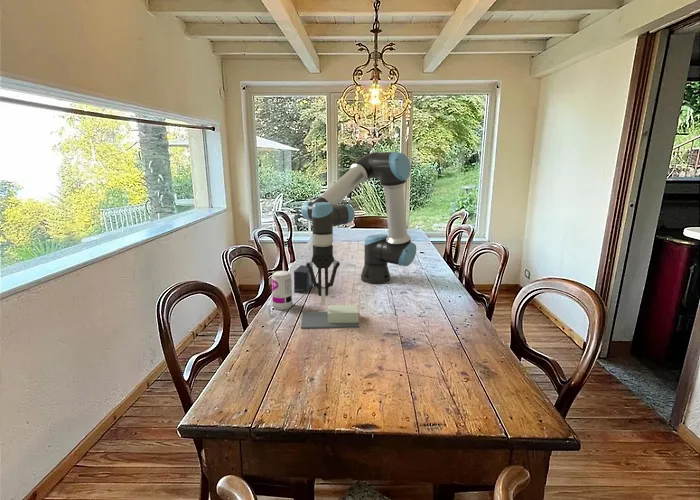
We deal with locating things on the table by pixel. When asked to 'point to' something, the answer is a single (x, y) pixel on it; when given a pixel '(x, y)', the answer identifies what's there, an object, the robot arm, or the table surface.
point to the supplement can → (281, 290)
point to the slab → (343, 314)
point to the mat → (322, 321)
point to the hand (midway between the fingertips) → (323, 303)
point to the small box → (302, 280)
